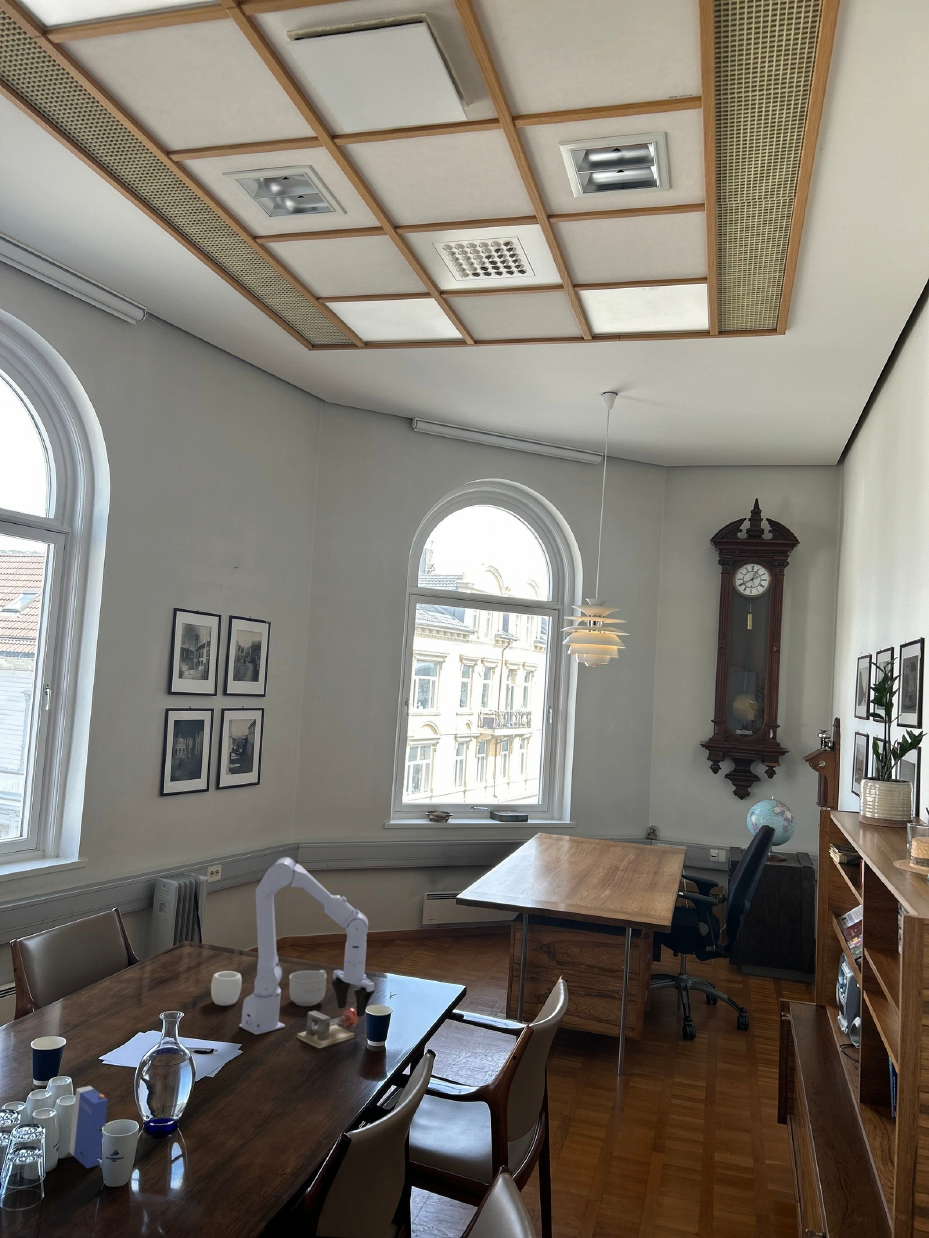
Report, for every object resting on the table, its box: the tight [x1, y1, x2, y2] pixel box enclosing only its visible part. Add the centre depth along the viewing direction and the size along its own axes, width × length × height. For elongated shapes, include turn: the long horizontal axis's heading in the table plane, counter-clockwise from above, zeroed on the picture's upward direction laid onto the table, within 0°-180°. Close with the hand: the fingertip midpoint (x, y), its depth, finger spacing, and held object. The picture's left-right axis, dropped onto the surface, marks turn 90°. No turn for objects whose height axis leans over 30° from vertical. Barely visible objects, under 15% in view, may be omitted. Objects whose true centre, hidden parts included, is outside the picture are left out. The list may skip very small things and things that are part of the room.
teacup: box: [288, 969, 327, 1007], centre depth 263 cm, size 14×11×8 cm
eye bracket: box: [296, 1010, 355, 1049], centre depth 237 cm, size 12×9×6 cm
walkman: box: [68, 1085, 109, 1169], centre depth 170 cm, size 8×3×12 cm, turn 47°
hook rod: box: [312, 1007, 360, 1031], centre depth 239 cm, size 14×5×5 cm, turn 139°
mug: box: [210, 970, 243, 1007], centre depth 259 cm, size 12×8×8 cm
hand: (351, 1011), depth 243 cm, fingers open, 7 cm apart
